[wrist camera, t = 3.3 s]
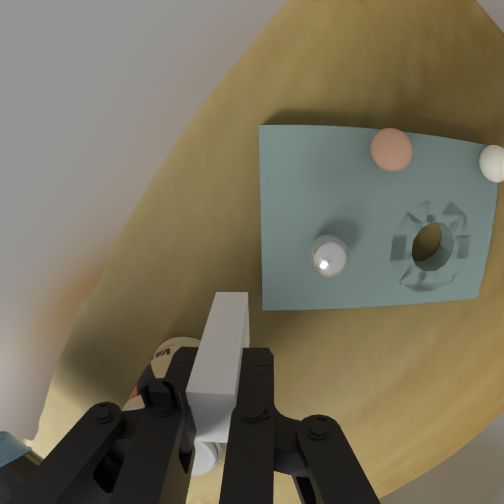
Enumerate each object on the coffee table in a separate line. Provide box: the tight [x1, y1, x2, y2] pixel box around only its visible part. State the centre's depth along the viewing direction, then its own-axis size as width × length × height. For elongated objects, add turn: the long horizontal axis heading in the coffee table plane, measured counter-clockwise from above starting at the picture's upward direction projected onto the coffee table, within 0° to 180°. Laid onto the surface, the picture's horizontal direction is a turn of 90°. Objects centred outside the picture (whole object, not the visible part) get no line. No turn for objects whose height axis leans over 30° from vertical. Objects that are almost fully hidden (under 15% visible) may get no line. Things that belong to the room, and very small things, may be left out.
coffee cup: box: [122, 337, 221, 477], centre depth 27 cm, size 9×9×12 cm
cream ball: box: [479, 145, 504, 182], centre depth 20 cm, size 3×3×3 cm
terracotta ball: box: [370, 128, 413, 172], centre depth 20 cm, size 3×3×3 cm
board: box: [258, 125, 498, 311], centre depth 25 cm, size 22×15×2 cm
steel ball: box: [307, 234, 350, 278], centre depth 23 cm, size 3×3×3 cm
